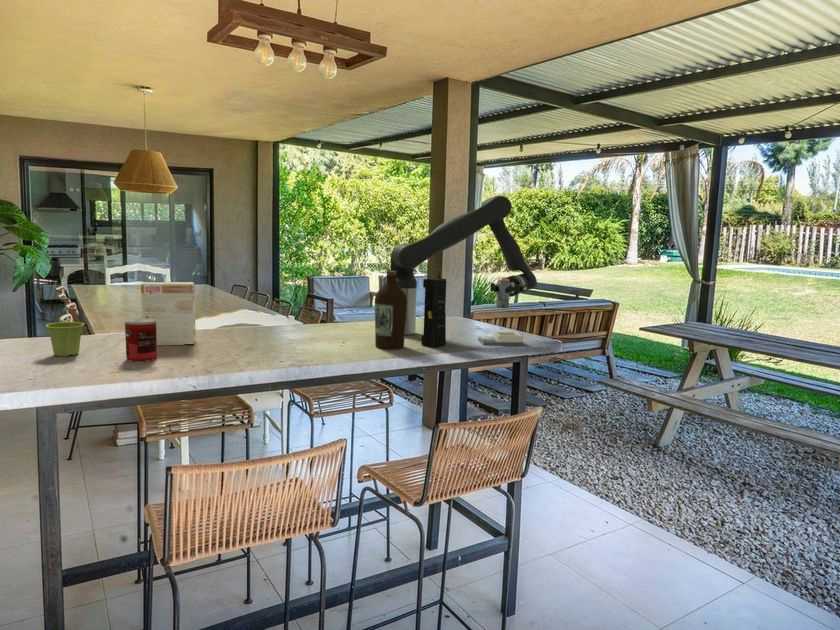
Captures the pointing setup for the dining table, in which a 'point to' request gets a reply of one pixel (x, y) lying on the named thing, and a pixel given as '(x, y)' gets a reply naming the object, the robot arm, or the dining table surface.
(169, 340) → the coffeecake box
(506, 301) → the cell
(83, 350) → the dining table surface
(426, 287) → the portable radio
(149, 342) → the canned food
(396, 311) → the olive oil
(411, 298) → the robot arm
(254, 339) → the dining table surface
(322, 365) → the dining table surface
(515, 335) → the tester board
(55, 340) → the plant pot
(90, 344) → the dining table surface
